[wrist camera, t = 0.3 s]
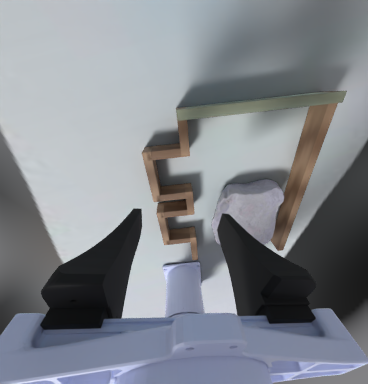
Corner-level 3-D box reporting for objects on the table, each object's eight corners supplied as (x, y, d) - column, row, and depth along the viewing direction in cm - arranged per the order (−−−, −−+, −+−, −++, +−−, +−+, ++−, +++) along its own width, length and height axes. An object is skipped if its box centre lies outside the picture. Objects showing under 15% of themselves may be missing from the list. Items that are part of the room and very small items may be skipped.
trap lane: (275, 239, 31) (284, 252, 28) (168, 251, 31) (168, 265, 28) (322, 91, 18) (346, 90, 15) (137, 112, 18) (131, 114, 15)
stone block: (211, 230, 31) (263, 232, 30) (211, 249, 27) (272, 253, 26) (211, 176, 25) (277, 175, 24) (212, 190, 21) (291, 191, 20)
